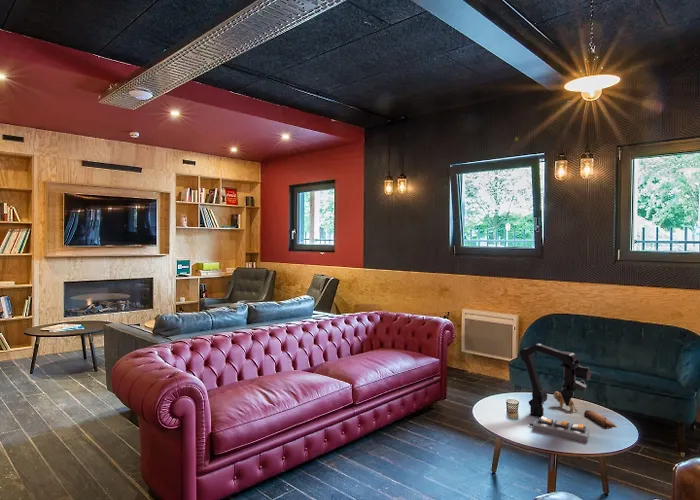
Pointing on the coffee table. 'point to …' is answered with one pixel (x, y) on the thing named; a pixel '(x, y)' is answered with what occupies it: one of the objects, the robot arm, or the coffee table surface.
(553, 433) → the power strip
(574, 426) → the rocker right
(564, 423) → the rocker middle
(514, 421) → the coffee table surface
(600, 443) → the coffee table surface
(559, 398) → the lion figurine
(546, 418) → the block
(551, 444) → the coffee table surface
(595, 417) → the sunglasses case
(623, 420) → the coffee table surface
